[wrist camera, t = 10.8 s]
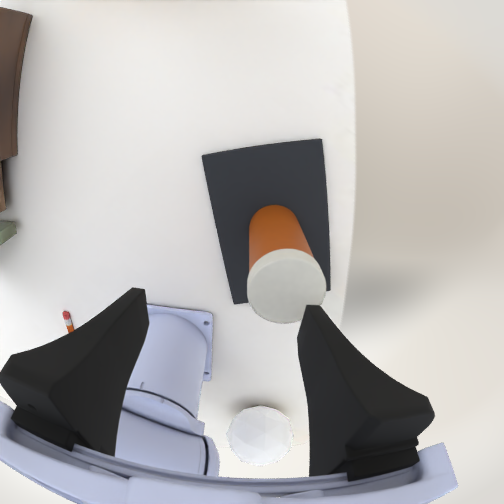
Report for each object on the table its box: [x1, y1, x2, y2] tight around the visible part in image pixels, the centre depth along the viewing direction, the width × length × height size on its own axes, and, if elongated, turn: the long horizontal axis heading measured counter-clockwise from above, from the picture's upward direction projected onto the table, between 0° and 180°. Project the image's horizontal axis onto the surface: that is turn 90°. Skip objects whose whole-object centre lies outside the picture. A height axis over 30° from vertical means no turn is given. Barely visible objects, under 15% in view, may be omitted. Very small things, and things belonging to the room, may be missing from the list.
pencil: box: [63, 311, 74, 333], centre depth 28 cm, size 1×18×1 cm, turn 172°
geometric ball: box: [226, 405, 294, 466], centre depth 28 cm, size 8×8×8 cm
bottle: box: [247, 205, 326, 323], centre depth 16 cm, size 4×4×8 cm
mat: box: [202, 139, 330, 304], centre depth 20 cm, size 12×8×1 cm, turn 9°
